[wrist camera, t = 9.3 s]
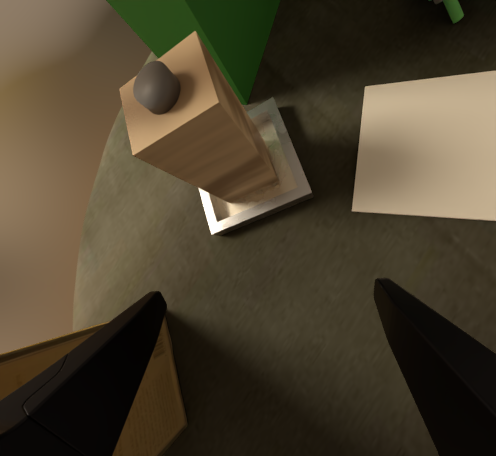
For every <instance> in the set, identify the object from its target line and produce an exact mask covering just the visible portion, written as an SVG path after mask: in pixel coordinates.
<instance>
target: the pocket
mask: <svg viewBox="0 0 496 456" xmlns="http://www.w3.org/2000/svg"><path fill="white" fill-rule="evenodd" d="M247 114H248V115H249V117H250V118H251V120H252V122H253V123H254V125H255V126H256V128H257V130H258V131H259V133H260V134H261V136H262V138H263V139H264V141H265V144H266V146H267V149H268V152H269V154H270V157H271V160H272V163H273V165H274V168H275V171H276V173H277V176H278V179H279V181H278V182H276V183H274V184H271V185H269V186H267V187H265V188H262V189H260V190H258V191H256V192H254V193H251V194H249V195H247V196H245V197H242V198H240V199H238V200H236V201H234V202H231V203H228V202H226V201H224V200H222V199H220V198H218V197H216V196H214V195H212V194H210V193H208V192H206V191H204V190H202V189H200V188H199V191H200V195H201V198H202V202H203V206H204V209H205V213H206V216H207V220H208V224H209V227H210V231H211V234H212V235H217V236H221V235H223V234H226V233H228V232H230V231H233V230H235V229H238V228H240V227H243V226H245V225H247V224H250V223H252V222H255V221H257V220H259V219H262V218H264V217H267V216H269V215H272V214H274V213H276V212H279V211H281V210H284V209H286V208H289V207H291V206H293V205H296V204H298V203H301V202H303V201H306V200H308V199H310V198H313V197H314V196H313V194H312V191H311V189H310V186H309V184H308V181H307V179H306V176H305V174H304V171H303V169H302V167H301V164H300V162H299V159H298V157H297V154H296V152H295V149H294V147H293V144H292V142H291V140H290V137H289V135H288V132H287V130H286V127H285V125H284V122H283V120H282V118H281V115H280V113H279V110H278V108H277V105H276V103H275V100H274V98H273V97H272V98H270V99H269V100H267V101H265V102H263V103H262V104H260V105H258V106H257V107H255V108H253V109H251V110H250V111H248V112H247Z"/></svg>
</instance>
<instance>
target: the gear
mask: <svg viewBox="0 0 496 456" xmlns="http://www.w3.org/2000/svg"><path fill="white" fill-rule="evenodd" d="M428 1H430V0H428ZM433 1H434V3H435V4H438V3H440V2H442V1H443V2H444V5H445V7H446V9H447V11H448V14H449V16H450V18H451V20H452V22H453V23H456V22H458V21H459V20H460V19H461V18H462V17H463V16H464V14H463V11H462V9H461V6H460V4H459V2H458V0H433Z"/></svg>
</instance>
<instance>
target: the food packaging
mask: <svg viewBox="0 0 496 456" xmlns="http://www.w3.org/2000/svg"><path fill="white" fill-rule="evenodd" d="M109 322H110V321H109ZM109 322H106V323H102V324H99V325H95V326H92V327H89V328H85V329H82V330H79V331H76V332H72V333H69V334H66V335H63V336H59V337H56V338H53V339H49V340H47V341H43V342H40V343H37V344H33V345H30V346H27V347H23V348H20V349H17V350H14V351H10V352H6V353H3V354H0V400H2V399H3V398H5V397H6V396H8V395H9V394H11V393H12V392H14V391H15V390H16V389H18V388H19V387H21V386H22V385H24V384H25V383H27V382H28V381H30V380H31V379H32V378H34V377H35V376H37V375H38V374H40V373H41V372H43V371H44V370H45V369H47V368H48V367H49V366H51V365H52V364H54V363H55V362H56V361H58V360H59V359H60V358H62V357H63V356H64V355H66V354H67V353H69V352H70V351H71V350H73V349H74V348H75V347H77V346H78V345H79V344H81V343H82V342H83V341H85V340H86V339H87V338H89V337H90V336H91V335H93V334H94V333H95V332H97V331H98V330H99V329H101V328H102V327H103V326H105V325H106V324H108V323H109ZM187 425H188V424H187V418H186V413H185V408H184V403H183V399H182V394H181V389H180V385H179V380H178V375H177V370H176V365H175V360H174V355H173V350H172V342H171V338H170V334H169V330H168V326H167V321H166V317H165V316H164V320H163V323H162V327H161V330H160V334H159V337H158V340H157V343H156V346H155V348H154V351H153V354H152V356H151V359H150V361H149V364H148V366H147V369H146V371H145V374H144V376H143V379H142V382H141V384H140V387H139V389H138V392H137V394H136V397H135V399H134V402H133V404H132V407H131V410H130V412H129V415H128V417H127V420H126V422H125V425H124V427H123V430H122V432H121V435H120V438H119V440H118V443H117V445H116V448H115V450H114V453H113V455H112V456H162V455H163V454H164V453H165V452H166V450H167V449H168V448H169V447H170V446H171V445H172V443H173V442H174V441H175V440H176V439H177V438H178V436H179V435H180V434H181V433H182V432H183V431H184V429H185V428H186V427H187Z"/></svg>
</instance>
